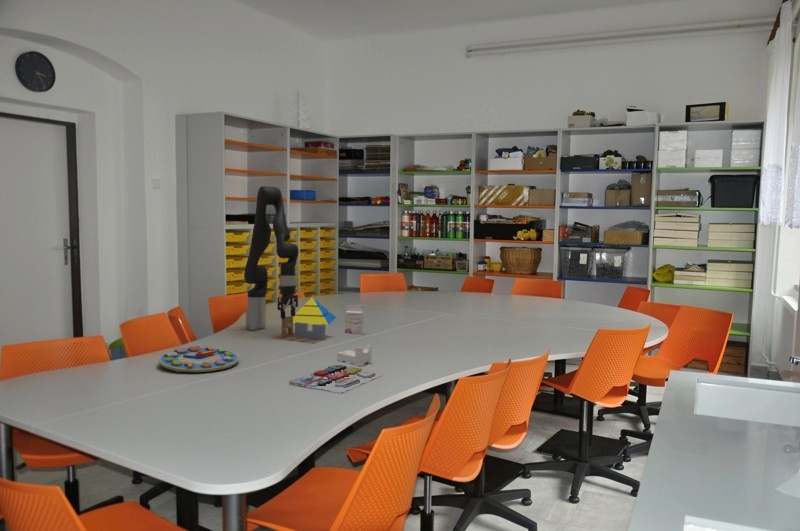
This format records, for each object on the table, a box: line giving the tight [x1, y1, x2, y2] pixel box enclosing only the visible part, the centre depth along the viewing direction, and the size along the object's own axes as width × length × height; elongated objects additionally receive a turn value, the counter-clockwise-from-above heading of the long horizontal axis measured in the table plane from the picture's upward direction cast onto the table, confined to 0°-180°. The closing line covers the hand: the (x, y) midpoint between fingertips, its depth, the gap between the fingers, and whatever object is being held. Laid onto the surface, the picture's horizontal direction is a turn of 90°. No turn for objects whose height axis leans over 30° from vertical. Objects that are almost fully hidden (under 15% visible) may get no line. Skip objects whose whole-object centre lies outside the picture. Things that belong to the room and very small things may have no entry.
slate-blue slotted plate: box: [294, 322, 326, 341], centre depth 311 cm, size 16×2×7 cm, turn 65°
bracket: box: [336, 344, 372, 365], centre depth 270 cm, size 13×7×8 cm, turn 52°
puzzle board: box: [288, 364, 376, 388], centre depth 241 cm, size 30×23×3 cm
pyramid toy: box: [292, 296, 337, 326], centre depth 367 cm, size 25×25×14 cm
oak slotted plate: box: [281, 315, 294, 337], centre depth 317 cm, size 2×6×9 cm, turn 156°
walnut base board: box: [270, 331, 336, 345], centre depth 313 cm, size 24×20×1 cm
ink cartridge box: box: [344, 304, 364, 336], centre depth 328 cm, size 9×5×15 cm, turn 84°
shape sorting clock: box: [158, 345, 240, 374], centre depth 259 cm, size 31×30×6 cm
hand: (288, 317), depth 316 cm, fingers open, 8 cm apart
